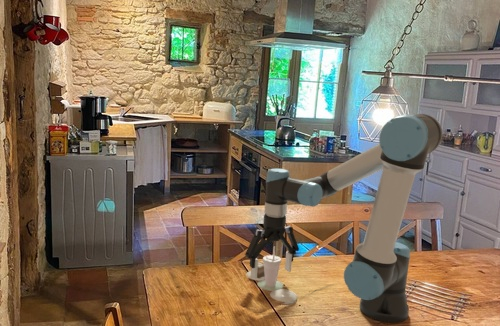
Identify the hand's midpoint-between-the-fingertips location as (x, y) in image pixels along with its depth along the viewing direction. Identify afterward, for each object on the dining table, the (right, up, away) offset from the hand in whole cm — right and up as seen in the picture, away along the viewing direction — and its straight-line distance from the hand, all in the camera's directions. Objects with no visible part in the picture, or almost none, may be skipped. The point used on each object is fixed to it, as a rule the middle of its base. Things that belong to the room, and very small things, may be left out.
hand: (271, 273), depth 160 cm
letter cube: (-4, -3, +8) cm, 9 cm away
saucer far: (-4, -4, +8) cm, 10 cm away
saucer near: (+4, -7, -6) cm, 10 cm away
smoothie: (0, -4, +1) cm, 4 cm away
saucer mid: (0, -5, +1) cm, 5 cm away
